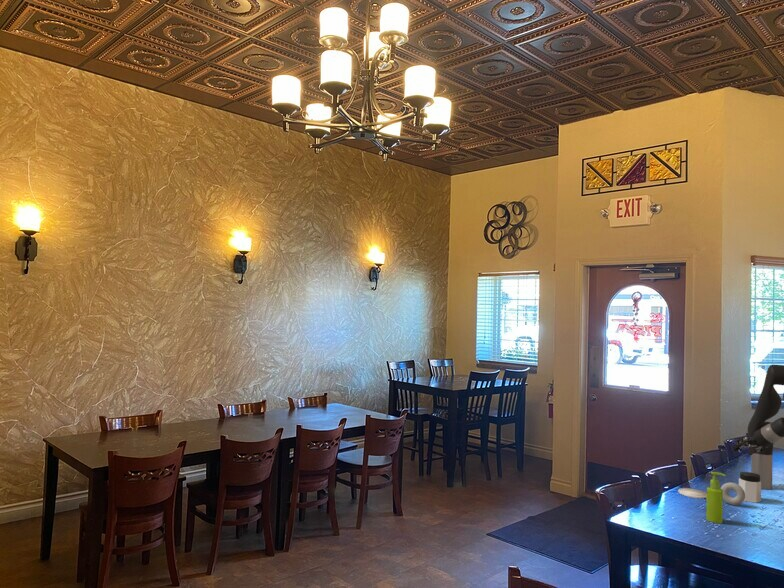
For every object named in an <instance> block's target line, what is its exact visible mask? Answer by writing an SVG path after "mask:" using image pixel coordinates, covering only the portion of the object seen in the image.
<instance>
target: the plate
mask: <svg viewBox="0 0 784 588" xmlns="http://www.w3.org/2000/svg"><path fill="white" fill-rule="evenodd" d="M678 492H679V493H680V495H681V494H682V495H681V496H683V495H684V496H683V497H686V496H687V497H688V498H691V499H697V498H699V499H698V500H701V499H702V498H703V500H704V498H706V499H707V491H704V490H699V489H695V488H688V487H683V488H679V489H678V490H677V493H678ZM679 493H678V494H679ZM687 497H686V498H687Z"/></svg>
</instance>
